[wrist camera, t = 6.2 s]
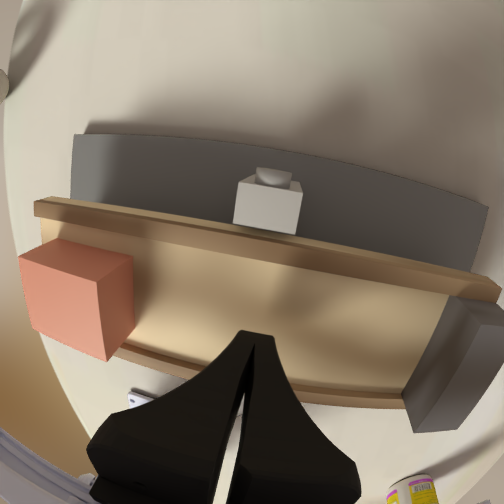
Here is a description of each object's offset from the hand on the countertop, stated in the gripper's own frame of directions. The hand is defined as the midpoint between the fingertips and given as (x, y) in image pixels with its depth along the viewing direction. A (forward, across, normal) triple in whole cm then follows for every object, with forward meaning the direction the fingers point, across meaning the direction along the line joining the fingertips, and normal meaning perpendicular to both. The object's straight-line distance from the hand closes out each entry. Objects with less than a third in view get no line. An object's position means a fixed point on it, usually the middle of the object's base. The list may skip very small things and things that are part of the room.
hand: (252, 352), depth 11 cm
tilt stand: (+8, 0, 0) cm, 8 cm away
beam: (+2, 0, 0) cm, 3 cm away
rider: (+2, +9, 0) cm, 9 cm away
